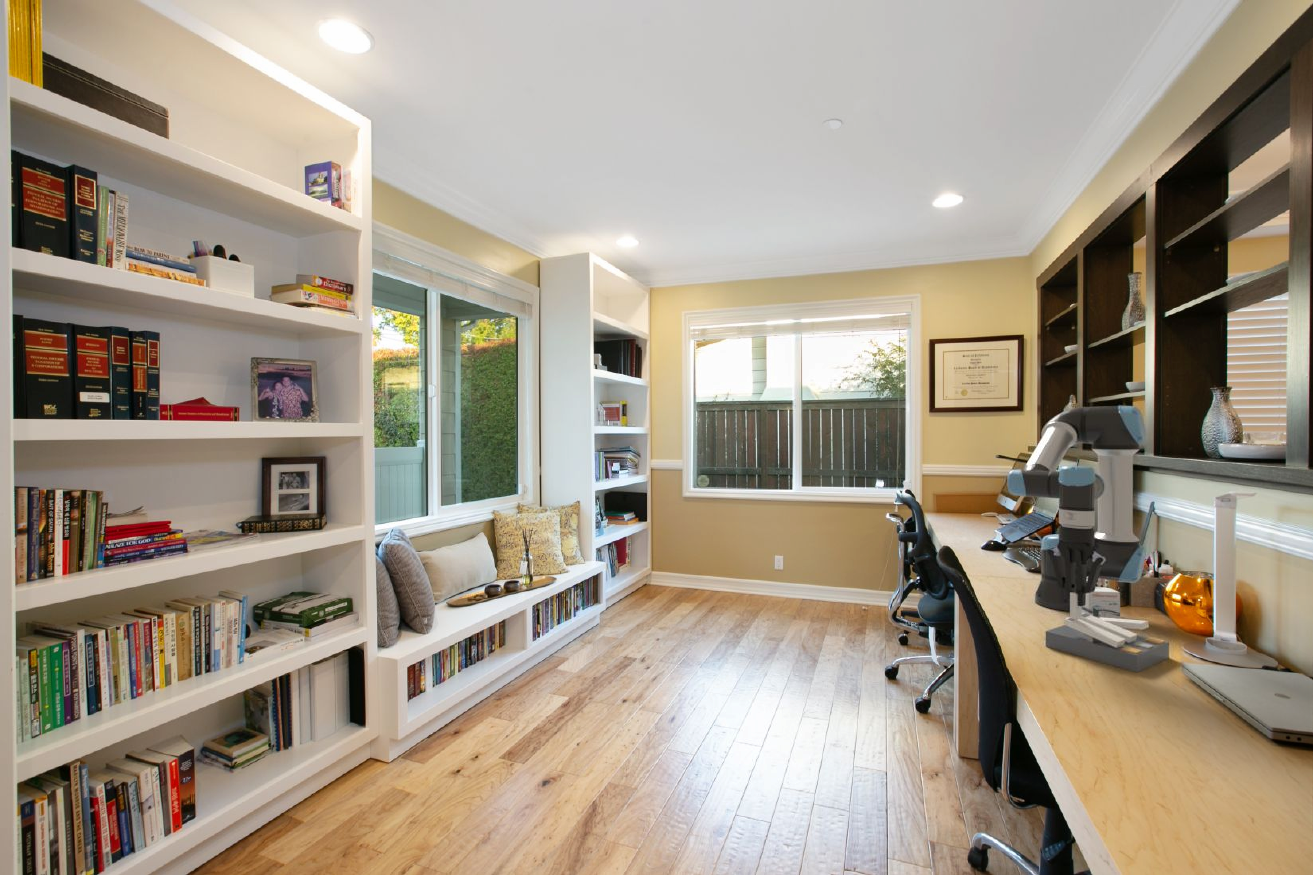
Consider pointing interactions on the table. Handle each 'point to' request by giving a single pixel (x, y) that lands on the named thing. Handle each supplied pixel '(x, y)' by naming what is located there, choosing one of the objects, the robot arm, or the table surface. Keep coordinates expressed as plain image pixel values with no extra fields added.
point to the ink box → (1103, 603)
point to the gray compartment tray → (1109, 648)
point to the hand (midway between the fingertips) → (1075, 617)
